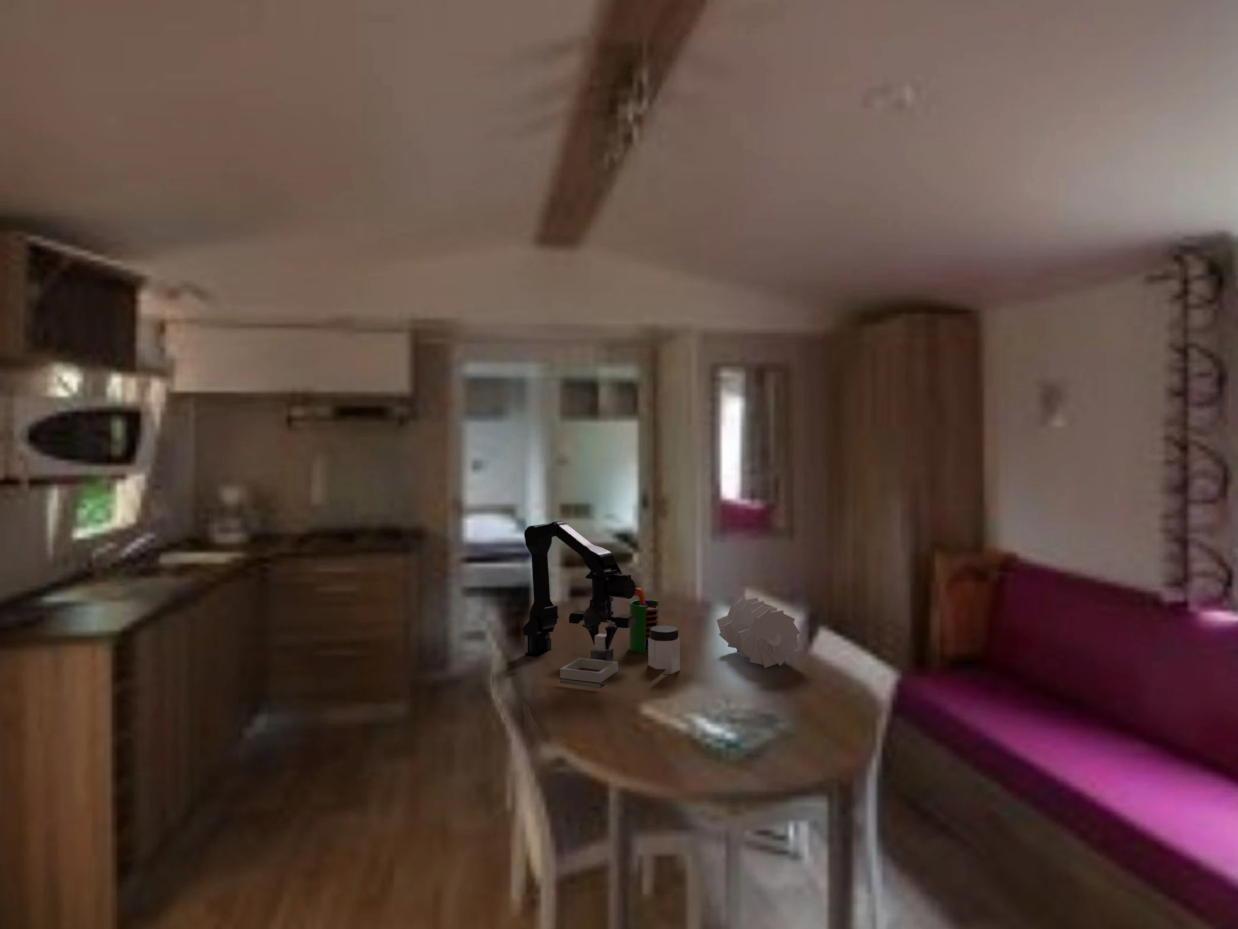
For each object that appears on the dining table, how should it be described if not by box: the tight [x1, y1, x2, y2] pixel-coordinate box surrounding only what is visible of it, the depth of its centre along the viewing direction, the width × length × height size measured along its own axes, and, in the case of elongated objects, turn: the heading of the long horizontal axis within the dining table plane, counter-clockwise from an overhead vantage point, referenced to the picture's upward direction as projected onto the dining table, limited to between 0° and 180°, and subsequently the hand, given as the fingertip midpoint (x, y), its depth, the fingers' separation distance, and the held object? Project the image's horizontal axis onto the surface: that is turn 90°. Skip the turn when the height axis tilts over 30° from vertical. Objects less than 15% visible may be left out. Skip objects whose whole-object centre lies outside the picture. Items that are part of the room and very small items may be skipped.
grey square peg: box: [590, 633, 614, 661], centre depth 251 cm, size 5×5×8 cm
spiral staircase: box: [716, 597, 801, 669], centre depth 257 cm, size 18×18×25 cm
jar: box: [647, 625, 681, 675], centre depth 247 cm, size 9×8×12 cm
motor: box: [628, 587, 659, 654], centre depth 265 cm, size 10×9×20 cm
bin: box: [559, 657, 619, 689], centre depth 238 cm, size 12×12×4 cm
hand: (602, 648), depth 251 cm, fingers closed on grey square peg, 3 cm apart
